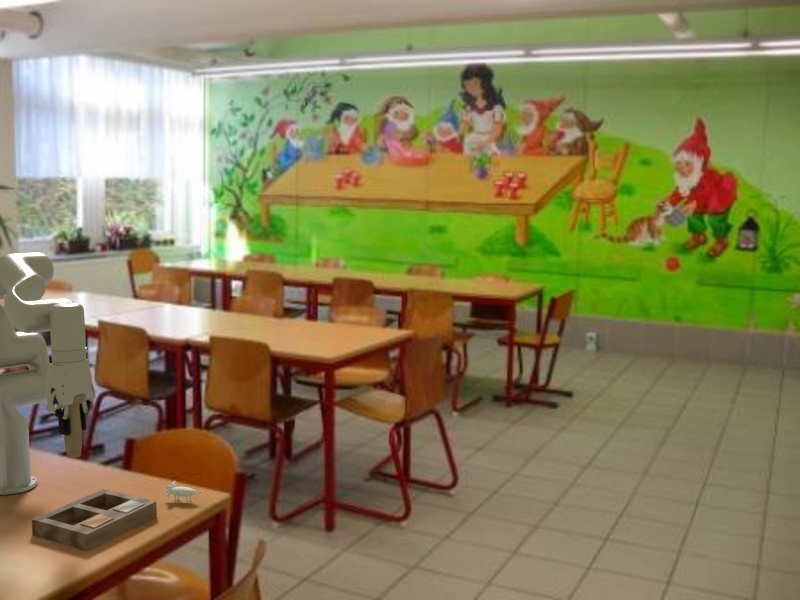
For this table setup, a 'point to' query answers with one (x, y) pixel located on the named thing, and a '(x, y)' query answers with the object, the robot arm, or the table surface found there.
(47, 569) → the table surface
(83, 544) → the socket block
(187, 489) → the white animal figurine
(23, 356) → the robot arm
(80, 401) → the handle
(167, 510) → the table surface
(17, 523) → the table surface
